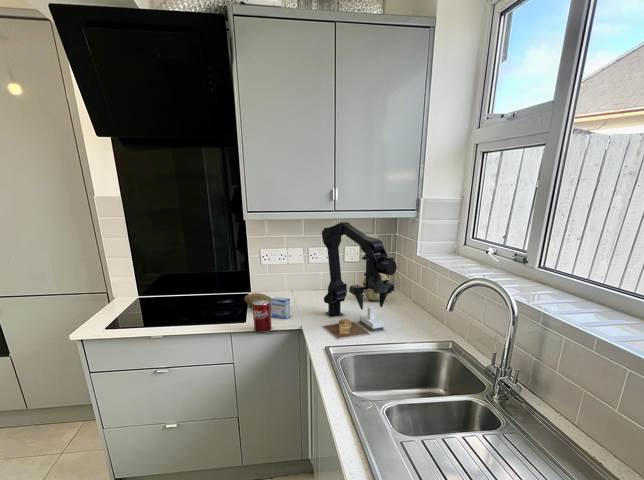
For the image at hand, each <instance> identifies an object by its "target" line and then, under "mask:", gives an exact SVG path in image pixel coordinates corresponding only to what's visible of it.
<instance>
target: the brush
mask: <svg viewBox="0 0 644 480" xmlns="http://www.w3.org/2000/svg"><path fill="white" fill-rule="evenodd" d="M358 321H359V322H358V323H360V324H361V325H362V326H364V327H365V328H367V329H368V330H370V331H371V332H378V331H379V332H380V331H384V325H385V324H384V321H382V320H380V319H378V318H377V317H376V307H375V306H368V307H367V314H360V315H359V318H358Z"/></svg>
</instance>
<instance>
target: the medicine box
mask: <svg viewBox="0 0 644 480" xmlns="http://www.w3.org/2000/svg"><path fill="white" fill-rule="evenodd" d="M271 298H272V299H271V318H278V319H289V318H290V317H291V298H288V297H278V296H277V297H276V296H274V297H271Z"/></svg>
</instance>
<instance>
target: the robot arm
mask: <svg viewBox="0 0 644 480" xmlns="http://www.w3.org/2000/svg"><path fill="white" fill-rule="evenodd" d="M344 235H345V236H346V237H347V238H348V239H350V240H351V241H353V242H354V243H355V244H357V245H359V247H360V250H361V251H362V252H363V253H364V255H363V256H362V257H361V259H362V260H364V261H365V272H364V273H363V275H364V277H365V278H364V279H365V283H364V286H365V287H362V285H359V284H352V285H350V286H349V288H348V289H347V287H348V285H347V282H346V283H344V281H343V280H342V270H341V269H342V268H341V259H340V249H339V247H340V245H341V243H342V236H344ZM321 238H322V243H323V244H324V246H325V248H326V249H327V258H328V269H329V279H330V280H329V281H330V282H329V284H328V286H327V293H326V295H324V297H323V302H324V304H327V305H328V306H327V307H328V308H327V309H328V311H326V312H325V314H326V315H327V316H329V317H330V318H334V317H341V316H344V313H342V312H341V310H342V309H341V306H342V305H341V303H342V302H345V299H346V297H347V295H348V293H350V294H352V295H353V296H354V297H355V298H356V299H355V300H356V301H357V303H358V305H359V309H360V310H364V297H365V294H364V291H372V290H373V291H374V293H376V294H378V293H379V296H380V300H379V308H383V305H384V303H385V301H386V300H387V297H388V295H389V294H392V292H395V288H396V287H395V284H394V283H392V282H391V280H390V279H389V280H382V279H381V275H380V273H381V274H384V275H386V276H394V275H395V274H396V272H397V269H398V266H397V262H396V261H395V257H391V256H390V257H389V255H388V252H387V251H386V249H385V247H384V244H383V241H382V240H381V239H378V238H376V237H373V236H369V235H367V234H365V233H364V232H363V231H361V230H360V229H357V227H355V226H353V224H351V223H350V222H348V221H341V222H338V223H337V224H334V225H331V226H329V227H324V228H323V229H322V231H321ZM368 288H369V289H368ZM370 288H371V289H370Z"/></svg>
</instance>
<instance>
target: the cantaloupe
mask: <svg viewBox="0 0 644 480" xmlns="http://www.w3.org/2000/svg"><path fill="white" fill-rule="evenodd" d="M380 275H381V279H382V280H389V281H390V279H389V278H388V275H386V274H381V273H380ZM364 283H365V278H363V281H362V285H361V287H365V286H364ZM368 289H369V288H368ZM370 289H371V288H370ZM363 295H364V297H366V298H367V299H369V300H370V301H376V302H377V301H380V296H379V293H378V294H376V293H374V291H373V290H372V291H364V293H363Z"/></svg>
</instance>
